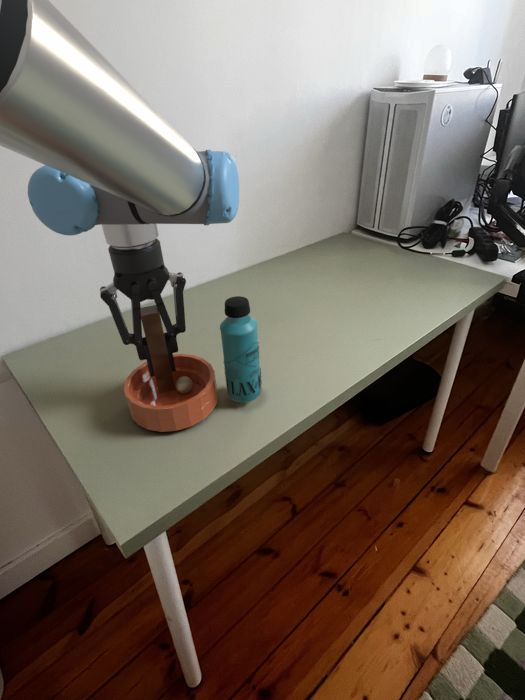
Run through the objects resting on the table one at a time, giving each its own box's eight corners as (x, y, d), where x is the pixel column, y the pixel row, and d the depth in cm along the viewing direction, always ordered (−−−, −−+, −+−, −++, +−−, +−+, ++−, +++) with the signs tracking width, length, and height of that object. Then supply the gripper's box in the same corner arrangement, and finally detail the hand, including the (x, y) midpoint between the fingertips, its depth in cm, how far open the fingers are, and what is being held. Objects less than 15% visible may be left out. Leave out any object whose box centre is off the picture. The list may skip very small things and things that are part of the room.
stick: (173, 380, 81) (156, 304, 72) (175, 390, 78) (159, 312, 69) (157, 384, 80) (138, 308, 71) (159, 394, 77) (140, 316, 69)
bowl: (178, 448, 70) (172, 421, 66) (113, 416, 77) (104, 389, 74) (235, 394, 80) (232, 368, 77) (173, 370, 88) (167, 345, 85)
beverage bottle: (221, 405, 78) (208, 307, 67) (236, 383, 83) (226, 289, 72) (254, 413, 76) (246, 313, 65) (268, 390, 81) (263, 293, 70)
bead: (186, 399, 78) (183, 385, 77) (173, 393, 80) (170, 380, 78) (197, 389, 81) (195, 375, 79) (184, 384, 82) (182, 370, 80)
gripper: (182, 226, 69) (202, 348, 82) (76, 242, 65) (114, 369, 78) (192, 240, 63) (211, 370, 76) (76, 259, 59) (117, 393, 72)
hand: (162, 369), depth 77 cm, fingers closed on stick, 3 cm apart
